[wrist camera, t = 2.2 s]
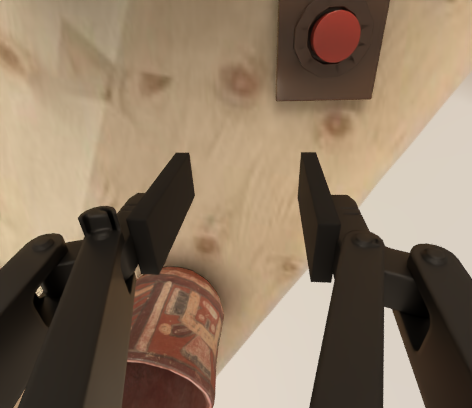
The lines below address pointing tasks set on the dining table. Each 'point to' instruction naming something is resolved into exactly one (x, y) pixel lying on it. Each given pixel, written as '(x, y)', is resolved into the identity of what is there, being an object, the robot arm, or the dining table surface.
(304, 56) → the switch box
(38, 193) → the dining table surface
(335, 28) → the lamp switch
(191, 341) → the pottery
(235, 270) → the dining table surface
